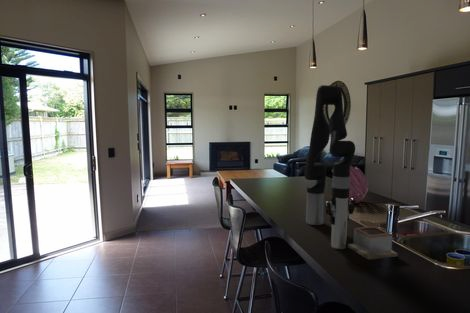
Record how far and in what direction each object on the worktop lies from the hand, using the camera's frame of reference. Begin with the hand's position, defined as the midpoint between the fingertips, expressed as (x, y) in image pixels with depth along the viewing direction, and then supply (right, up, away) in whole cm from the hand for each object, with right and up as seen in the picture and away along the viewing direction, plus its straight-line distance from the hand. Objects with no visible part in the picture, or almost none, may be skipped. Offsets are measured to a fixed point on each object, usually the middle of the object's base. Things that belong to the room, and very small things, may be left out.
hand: (339, 223), depth 138 cm
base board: (+13, -11, -4) cm, 17 cm away
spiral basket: (+33, -3, +79) cm, 86 cm away
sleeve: (+13, -10, -4) cm, 17 cm away
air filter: (0, -11, +1) cm, 11 cm away
